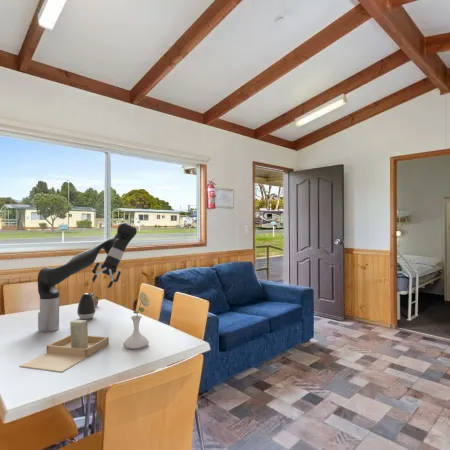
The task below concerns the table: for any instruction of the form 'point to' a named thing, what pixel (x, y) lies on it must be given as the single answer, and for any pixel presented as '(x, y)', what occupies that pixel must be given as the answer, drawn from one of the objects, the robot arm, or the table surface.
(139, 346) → the flower in vase
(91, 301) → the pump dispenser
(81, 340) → the skincare box
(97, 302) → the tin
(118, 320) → the table surface
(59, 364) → the box
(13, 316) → the table surface
